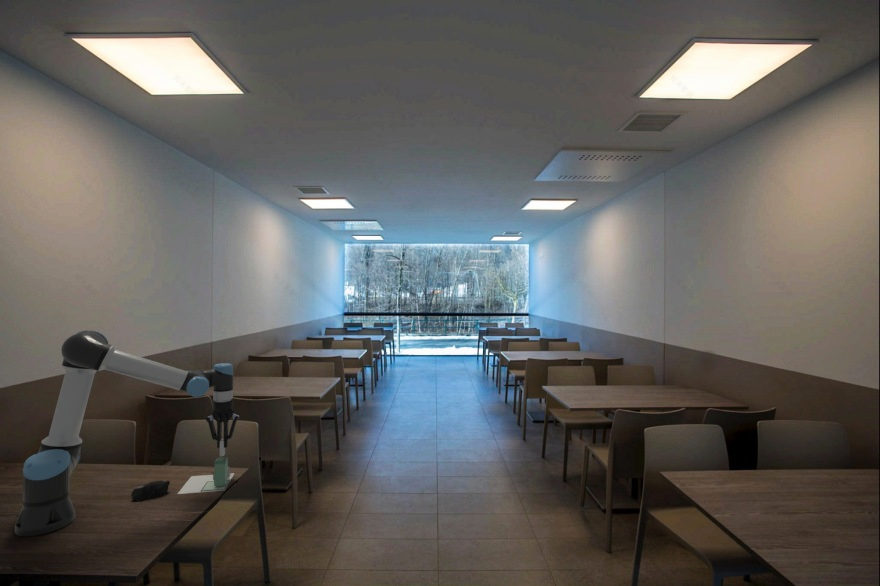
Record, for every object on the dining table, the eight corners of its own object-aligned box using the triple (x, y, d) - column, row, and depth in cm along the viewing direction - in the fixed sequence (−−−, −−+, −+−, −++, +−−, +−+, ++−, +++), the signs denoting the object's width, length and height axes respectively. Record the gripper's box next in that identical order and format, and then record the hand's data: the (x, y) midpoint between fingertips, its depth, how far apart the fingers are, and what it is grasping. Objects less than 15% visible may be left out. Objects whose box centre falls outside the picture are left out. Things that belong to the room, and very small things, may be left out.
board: (224, 491, 173) (224, 489, 173) (177, 495, 169) (177, 493, 169) (234, 474, 190) (234, 472, 190) (191, 477, 186) (191, 475, 186)
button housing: (226, 478, 184) (226, 471, 184) (213, 479, 183) (213, 472, 183) (229, 473, 189) (229, 466, 189) (216, 474, 188) (216, 467, 188)
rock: (151, 504, 162) (152, 488, 162) (128, 502, 163) (129, 487, 163) (170, 492, 172) (171, 478, 172) (149, 491, 173) (149, 476, 173)
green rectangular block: (224, 487, 176) (225, 460, 176) (213, 488, 175) (214, 461, 175) (227, 483, 179) (228, 457, 180) (216, 483, 179) (217, 457, 179)
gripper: (241, 397, 191) (240, 451, 191) (209, 398, 188) (208, 453, 188) (237, 401, 184) (236, 457, 184) (203, 402, 181) (202, 459, 181)
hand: (222, 455), depth 186 cm, fingers closed
